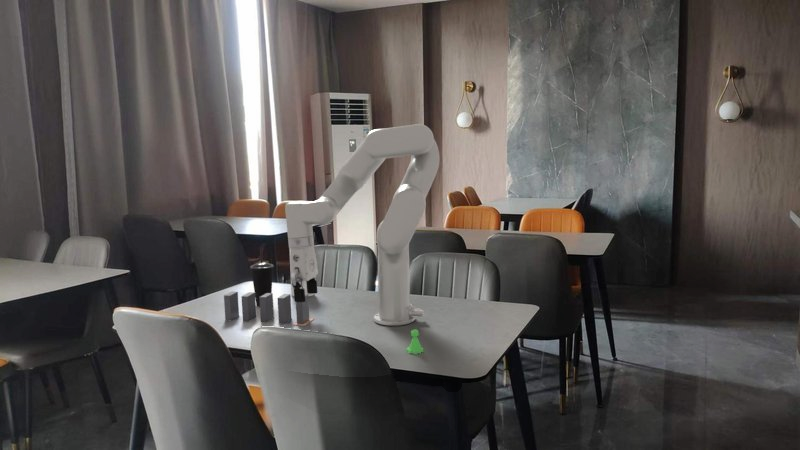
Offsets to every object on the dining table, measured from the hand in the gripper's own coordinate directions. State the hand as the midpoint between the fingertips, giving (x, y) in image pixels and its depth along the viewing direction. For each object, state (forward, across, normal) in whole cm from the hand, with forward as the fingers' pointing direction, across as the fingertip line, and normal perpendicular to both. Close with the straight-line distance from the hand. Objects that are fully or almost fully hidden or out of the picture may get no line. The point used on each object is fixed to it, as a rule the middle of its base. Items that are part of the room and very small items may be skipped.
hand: (306, 297), depth 183 cm
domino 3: (+7, 0, +14) cm, 15 cm away
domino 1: (+6, 0, +26) cm, 26 cm away
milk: (+8, +31, +15) cm, 35 cm away
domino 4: (+7, 0, +8) cm, 11 cm away
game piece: (+10, -19, -37) cm, 43 cm away
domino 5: (+7, 0, +2) cm, 8 cm away
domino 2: (+7, 0, +20) cm, 21 cm away
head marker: (+8, 0, +2) cm, 8 cm away
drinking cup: (+7, +16, +23) cm, 28 cm away
